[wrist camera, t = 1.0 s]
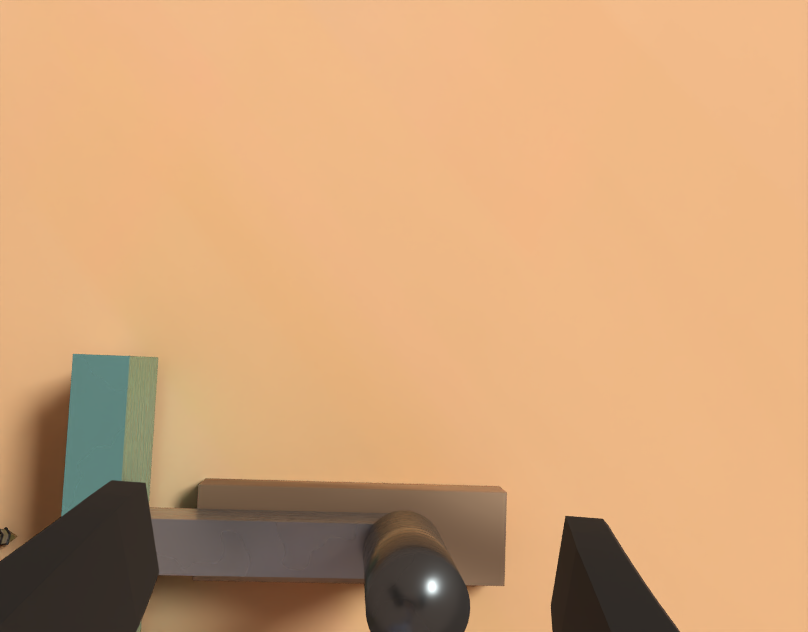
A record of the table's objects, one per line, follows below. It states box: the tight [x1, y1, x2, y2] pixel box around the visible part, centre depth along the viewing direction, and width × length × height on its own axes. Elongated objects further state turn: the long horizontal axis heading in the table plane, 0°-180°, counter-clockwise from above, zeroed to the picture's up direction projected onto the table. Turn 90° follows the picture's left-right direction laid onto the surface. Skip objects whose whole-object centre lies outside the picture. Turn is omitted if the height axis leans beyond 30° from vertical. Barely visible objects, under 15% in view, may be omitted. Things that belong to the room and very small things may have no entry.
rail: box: [193, 479, 507, 586], centre depth 23 cm, size 3×10×1 cm, turn 88°
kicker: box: [61, 354, 470, 632], centre depth 20 cm, size 11×11×8 cm
